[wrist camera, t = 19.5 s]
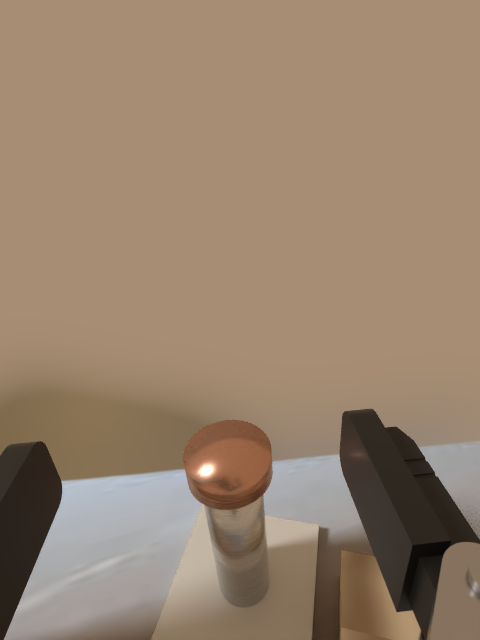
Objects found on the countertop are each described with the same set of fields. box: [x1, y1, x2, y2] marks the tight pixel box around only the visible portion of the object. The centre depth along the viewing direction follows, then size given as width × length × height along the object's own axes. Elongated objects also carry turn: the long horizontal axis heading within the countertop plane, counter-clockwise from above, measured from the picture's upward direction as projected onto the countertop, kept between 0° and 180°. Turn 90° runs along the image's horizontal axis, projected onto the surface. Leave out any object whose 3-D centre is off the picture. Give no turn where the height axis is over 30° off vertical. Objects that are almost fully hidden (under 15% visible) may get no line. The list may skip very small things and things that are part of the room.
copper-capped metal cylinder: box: [183, 420, 273, 608], centre depth 28 cm, size 6×6×15 cm
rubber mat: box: [151, 504, 319, 640], centre depth 32 cm, size 12×12×1 cm
